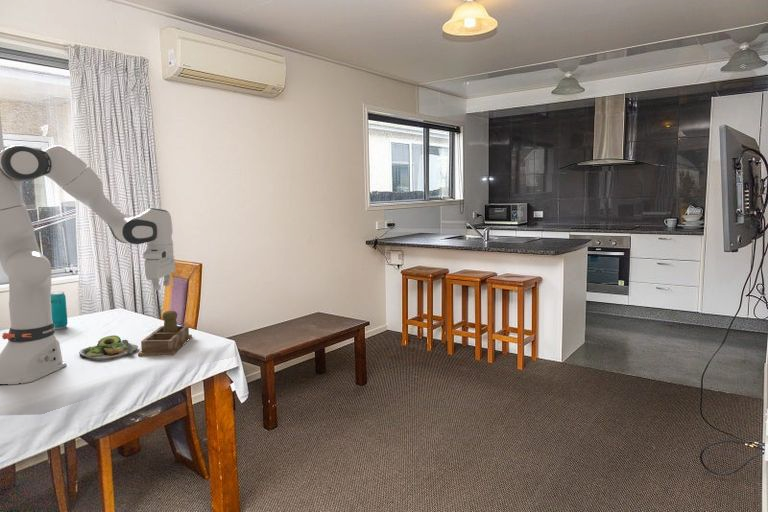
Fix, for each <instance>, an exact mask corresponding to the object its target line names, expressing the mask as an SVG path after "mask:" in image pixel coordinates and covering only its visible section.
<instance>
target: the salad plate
mask: <svg viewBox="0 0 768 512" xmlns="http://www.w3.org/2000/svg"><path fill="white" fill-rule="evenodd" d="M138 347H139V346H138V345H137V344H133V343H129V341H128V340H127V339H121V337H120V336H118V335H108V336H105V337H102V338H100V339H99V340H98V341H97V344H96V345H94V346H89V347H84V348H82V349H81V350H79V352H78V353H79V355H80V357H82V358H83V359H85V358H86V359H88V360H93V359H94V360H93V361H110V359H111V360H115V358H116V359H119V358H122V357H126V356H129V355H131V354H132V355H133V353H134V352H135V351H136V350H137V349H138ZM103 355H109V356H103ZM97 356H98V357H97Z"/></svg>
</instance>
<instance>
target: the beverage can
mask: <svg viewBox="0 0 768 512" xmlns="http://www.w3.org/2000/svg"><path fill="white" fill-rule="evenodd" d="M51 312H52V322H54V326H55V330H62V329H66V328H67V326H68V323H69V322H68V313H67V312H68V311H67V299H66V295H65V292H64V291H53V292H51Z"/></svg>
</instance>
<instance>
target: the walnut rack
mask: <svg viewBox="0 0 768 512" xmlns="http://www.w3.org/2000/svg"><path fill="white" fill-rule="evenodd" d="M177 327H178V332H173V333H163V330H164V325H160V326H159V327H158V328H157V329H156V330H154V331H153V332H151V333H150V334H148V336H146V337H145V338H144V339H141V340H140V345H141V350H140V351H139V352H138V353H137V356H138V357H154V356H155V357H156V356H157V357H159V356H161V357H162V355H172V356H175V355H176V354H177V352H179V351H180V349H181V348H182V347H183V346H184V345H185V344H186V343H187V342H188V341H189V340H190V338H191V337H193V335H192V334H190V331H189V327H190V326H189V325H177ZM188 339H189V340H188ZM187 340H188V341H187ZM186 341H187V342H186ZM185 342H186V343H185ZM184 343H185V344H184ZM183 344H184V345H183ZM182 345H183V346H182ZM181 346H182V347H181Z"/></svg>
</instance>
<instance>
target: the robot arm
mask: <svg viewBox="0 0 768 512" xmlns="http://www.w3.org/2000/svg"><path fill="white" fill-rule="evenodd" d="M43 176H45V177H47V178H49V179H50V180H52V181H53V182H54V183H56V184H57V186H59V187H60V188H61V189H62V190H63V191H64V192H65V193H67V194H68V195H70V196H71V197H72V198H74V199H76V201H79V202H80V203H82V204H84V205H86V206H87V207H88V208H90V209H91V210H92V211H93V212H94V213H95V214H96V215H97V216H98V217H99V218H101V220H102V221H104V222H105V223H106V224H107V226H108V227H109V230H110V232H111V234H112V236H113V238H114V239H115V240H117V241H118V242H120V243H123V244H129V245H141V244H146V245H147V247H146V249H145V250H144V252H143V253H142V258H143V260H144V272H145V278H146V280H147V281H151V282H152V285H153V289H154V291H155V292H156V291H160V290H161V285H160V279H161V278H163V277H164V278H163V286H166V287H167V286H169V285H170V284H171V283H170V281H171V274H173V273H174V272H175V270H176V263H175V255H174V241H173V237H172V235H173V222H172V221H173V220H172V216H171V213H170V212H169V211H168V210H166V209H160V208H155V207H154V208H153V207H151V208H147V210H145V211H143V212H142V213H139V214H138V215H136V216H129V215H127V214H124V213H123V212H121V211H120V210H119V209H118V207H116V206H115V205H114V204H113V203H112V202H111V200H109V198H107V196H106V195H105V193H104V188H103V187H104V186H103V185H104V184H103V181H102V180H101V177H100V176H98V174H97V173H96V171H94V169H92V168H91V167H90V166H89V164H87V163H86V162H85V161H84V160H83V159H81V158H80V157H79V156H78V155H76V154H75V153H73V152H72V151H71V150H70V149H67V148H66V147H64V146H62V145H53V146H50V147H47V148H46V149H45V150H41V149H38V148H34V147H32V146H28V145H24V144H23V145H21V144H13V145H9V146H6V147H4V148H3V149H2V150H1V151H0V264H1V267H2V270H3V271H4V272H3V273H5V274H6V275H7V277H8V284H9V285H8V287H9V290H8V292H9V293H8V294H9V296H8V297H9V298H8V310H9V318H10V319H9V320H10V327H9V331H8V332H3V333H2V335H1V338H2V339H3V340H7V343H6V345H5V346H4V348H3V349H2V350H1V352H0V384H8V385H19V383H21V384H26V383H31V382H32V383H33V382H34V381H36V380H39V379H41V378H42V377H45V376H47V375H49V374H52V373H54V372H55V371H58V370H60V369H62V368H64V367H66V366H67V362H66V361H64V360H63V356H62V351H61V350H62V349H61V345H60V341H59V340H58V339H57V337H56V336H55V333H56V329H55V326H54V322H52V312H51V293H52V265H51V262H50V259H48V257H47V256H46V255H44V254H42V253H41V251H40V247H39V243H38V241H37V237H36V233H35V228H34V227H35V226H34V225H33V223H32V219H31V217H30V214H29V212H28V210H27V207H26V204H25V201H24V199H23V197H22V193H21V185H22V183H23V182H29V181H32V180H33V181H34V180H35V179H37V178H40V177H43Z"/></svg>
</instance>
